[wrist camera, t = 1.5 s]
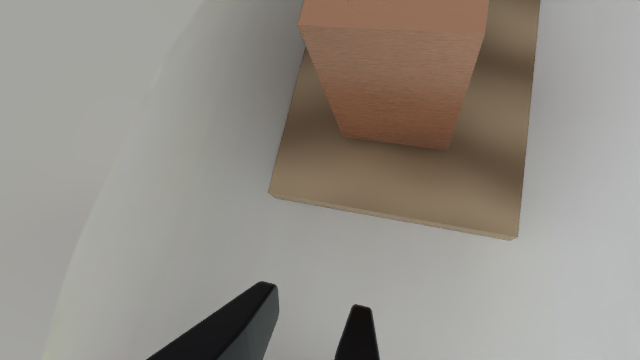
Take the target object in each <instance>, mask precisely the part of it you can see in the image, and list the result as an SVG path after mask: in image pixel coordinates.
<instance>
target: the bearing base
mask: <svg viewBox="0 0 640 360" xmlns="http://www.w3.org/2000/svg"><path fill="white" fill-rule="evenodd" d="M539 9H540V0H489V7H488V15H487V22H486V30H485V35H484V38H483V42H482V45H481V48H480V51H479V54H478V57H477V61H476V64H475V67H474V70H473V73H472V76H471V80H470V83H469V86H468V89H467V92H466V95H465V99H464V102H463V105H462V108H461V111H460V114H459V118H458V121H457V124H456V127H455V130H454V133H453V137H452V140H451V143H450V146H449V149H448V150H440V149H432V148H424V147H416V146H409V145H401V144H393V143H385V142H377V141H369V140H361V139H354V138H346V137H343V136H342V133H341V131H340V129H339V126H338V124H337V121H336V119H335V116H334V114H333V111H332V109H331V106H330V104H329V101H328V99H327V97H326V94H325V92H324V89H323V87H322V84H321V82H320V79H319V77H318V74H317V72H316V69H315V67H314V65H313V62H312V60H311V57H310V55H309V52H308V50H307V47H305V51H304V55H303V59H302V63H301V66H300V70H299V74H298V78H297V82H296V86H295V90H294V93H293V97H292V101H291V105H290V109H289V113H288V116H287V120H286V124H285V128H284V132H283V136H282V140H281V143H280V147H279V151H278V155H277V159H276V163H275V167H274V170H273V174H272V178H271V182H270V186H269V190H268V193H269V194H271V195H272V196H273V197H275V198H278V199H283V200H289V201H294V202H300V203H305V204H311V205H316V206H322V207H327V208H333V209H339V210H344V211H350V212H355V213H361V214H366V215H372V216H377V217H383V218H388V219H394V220H399V221H405V222H410V223H416V224H422V225H427V226H433V227H438V228H444V229H449V230H455V231H460V232H466V233H471V234H477V235H482V236H488V237H493V238H499V239H505V240H512V239H514V238H516V237H518V229H519V219H520V208H521V198H522V187H523V177H524V166H525V156H526V145H527V135H528V124H529V114H530V103H531V93H532V82H533V72H534V61H535V51H536V40H537V30H538V19H539Z"/></svg>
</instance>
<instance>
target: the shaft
mask: <svg viewBox="0 0 640 360" xmlns="http://www.w3.org/2000/svg"><path fill="white" fill-rule="evenodd" d="M488 7H489V0H304V3H303V7H302V10H301V14H300V18H299V21H298V28H299V30H300V33H301V35H302V37H303V40H304V42H305V45H306V47H307V50H308V52H309V55H310V57H311V60H312V62H313V65H314V67H315V69H316V72H317V74H318V77H319V79H320V82H321V84H322V87H323V89H324V92H325V94H326V97H327V99H328V101H329V104H330V106H331V109H332V111H333V114H334V116H335V119H336V121H337V124H338V126H339V129H340V131H341V133H342V136H343V137H346V138H354V139H361V140H369V141H377V142H385V143H393V144H401V145H409V146H416V147H424V148H432V149H440V150H448V149H449V146H450V143H451V140H452V137H453V133H454V130H455V127H456V124H457V121H458V118H459V114H460V111H461V108H462V105H463V102H464V99H465V95H466V92H467V89H468V86H469V83H470V80H471V76H472V73H473V70H474V67H475V64H476V61H477V57H478V54H479V51H480V48H481V45H482V42H483V38H484V35H485V30H486V22H487V15H488Z"/></svg>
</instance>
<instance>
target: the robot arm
mask: <svg viewBox="0 0 640 360" xmlns="http://www.w3.org/2000/svg"><path fill="white" fill-rule="evenodd" d="M278 315H279V298H278V288H277V286H276V285H275V284H272V283H268V282H264V281H261V282H258V283H256V284H255V285H253V286H252V287H251V288H249V289H248V290H246V291H245V292H243V293H242V294H240V295H239V296H237V297H236V298H235V299H233V300H232V301H230V302H229V303H227V304H226V305H224V306H223V307H222V308H220V309H219V310H217V311H216V312H214V313H213V314H211V315H210V316H209V317H207V318H206V319H204V320H203V321H201V322H200V323H198V324H197V325H196V326H194V327H193V328H191V329H190V330H188V331H187V332H185V333H184V334H183V335H181V336H180V337H178V338H177V339H175V340H174V341H172V342H171V343H169V344H168V345H167V346H165V347H164V348H162V349H161V350H159V351H158V352H156V353H155V354H154V355H152V356H151V357H149V358H148V359H146V360H263V357H264V354H265V352H266V349H267V346H268V343H269V341H270V338H271V335H272V333H273V330H274V327H275V324H276V322H277V319H278ZM334 360H380V357H379V351H378V345H377V339H376V333H375V327H374V321H373V315H372V310H371V309H370V308H369V307H365V306H361V305H357V304H355V305H353V306H352V308H351V311H350V314H349V317H348V319H347V322H346V325H345V328H344V331H343V333H342V336H341V339H340V342H339V345H338V348H337V351H336V355H335V359H334Z"/></svg>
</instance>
